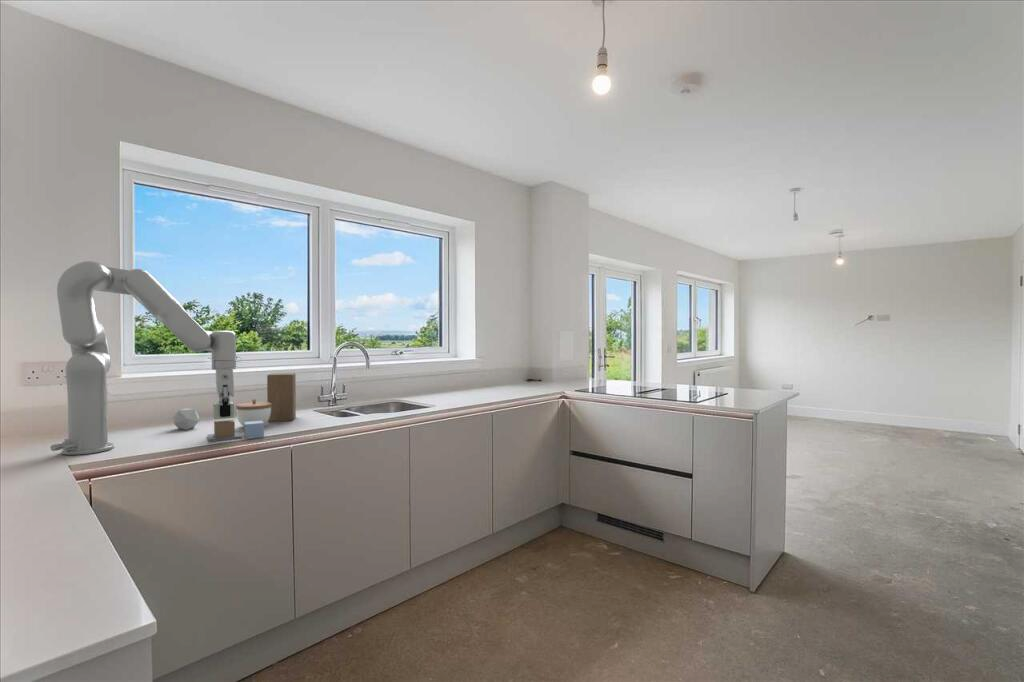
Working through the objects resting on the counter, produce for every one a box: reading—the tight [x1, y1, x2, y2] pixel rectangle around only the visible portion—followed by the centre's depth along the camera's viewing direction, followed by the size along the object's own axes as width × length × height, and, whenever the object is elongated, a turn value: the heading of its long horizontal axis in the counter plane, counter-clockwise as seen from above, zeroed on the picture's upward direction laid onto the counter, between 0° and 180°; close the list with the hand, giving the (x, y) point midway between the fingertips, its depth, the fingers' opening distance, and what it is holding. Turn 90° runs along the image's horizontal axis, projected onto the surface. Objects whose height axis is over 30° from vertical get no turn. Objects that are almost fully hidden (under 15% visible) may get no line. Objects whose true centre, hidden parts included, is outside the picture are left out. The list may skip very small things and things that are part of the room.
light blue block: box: [243, 421, 265, 439], centre depth 181 cm, size 6×6×5 cm
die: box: [172, 407, 200, 431], centre depth 193 cm, size 8×9×10 cm
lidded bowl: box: [235, 398, 272, 427], centre depth 198 cm, size 13×13×11 cm
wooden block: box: [266, 372, 297, 423], centre depth 214 cm, size 10×10×20 cm
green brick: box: [212, 401, 235, 420], centre depth 177 cm, size 6×6×5 cm
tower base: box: [207, 418, 242, 442], centre depth 177 cm, size 10×10×6 cm
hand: (224, 414), depth 177 cm, fingers closed on green brick, 6 cm apart
